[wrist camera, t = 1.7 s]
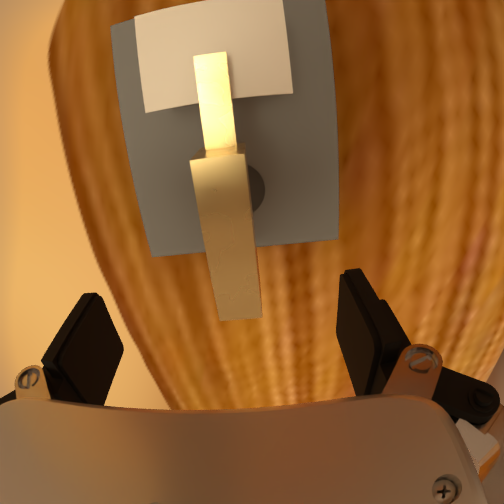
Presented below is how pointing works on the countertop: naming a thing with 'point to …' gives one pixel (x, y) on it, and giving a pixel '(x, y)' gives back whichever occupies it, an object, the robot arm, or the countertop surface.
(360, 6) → the countertop surface
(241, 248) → the key
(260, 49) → the cream rectangular block
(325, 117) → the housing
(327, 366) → the countertop surface
